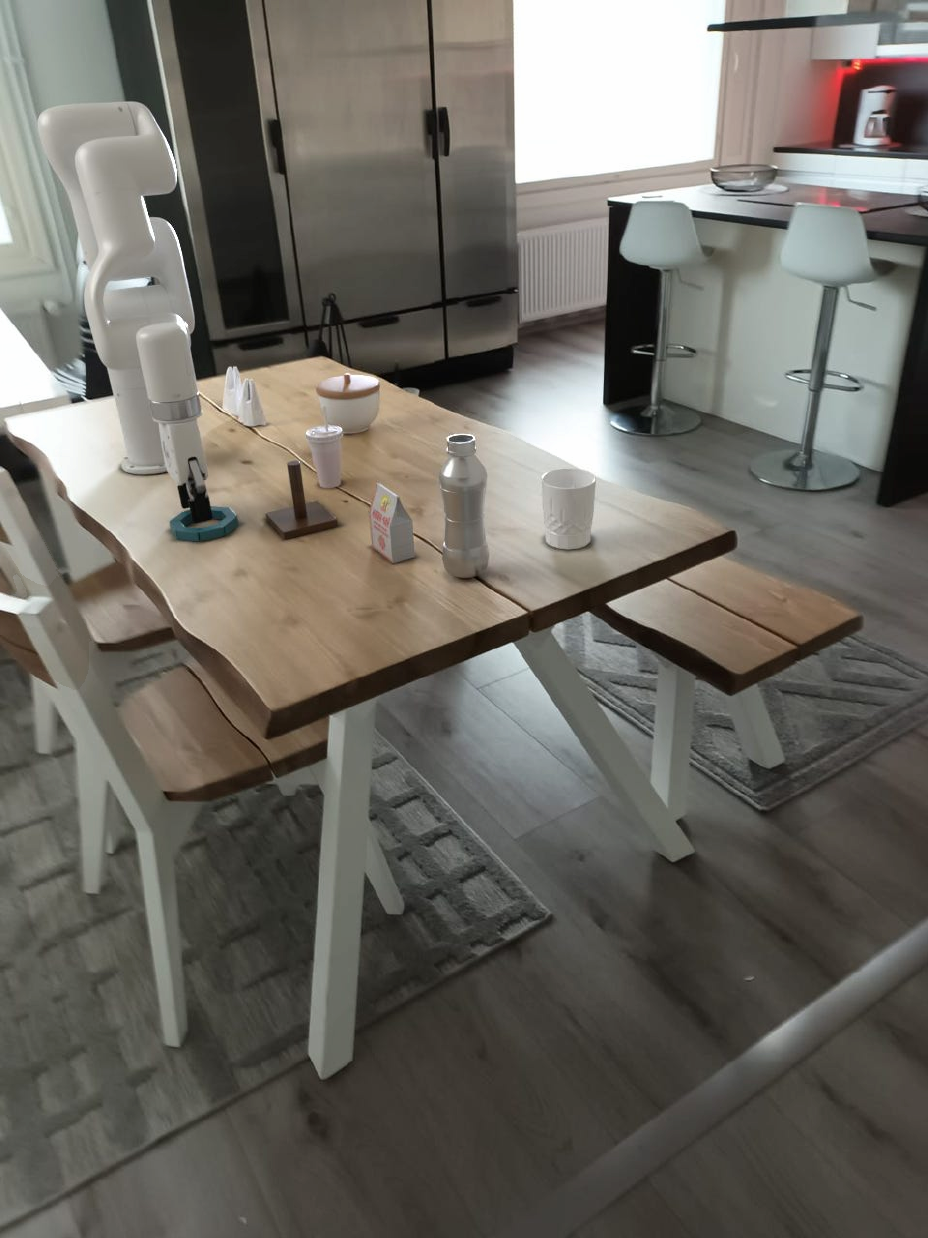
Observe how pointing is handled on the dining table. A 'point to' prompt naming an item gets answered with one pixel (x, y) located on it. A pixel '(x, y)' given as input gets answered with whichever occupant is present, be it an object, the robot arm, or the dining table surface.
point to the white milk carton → (390, 526)
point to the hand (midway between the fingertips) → (197, 512)
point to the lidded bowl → (350, 401)
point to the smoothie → (326, 452)
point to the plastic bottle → (464, 508)
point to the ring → (204, 533)
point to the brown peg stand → (300, 510)
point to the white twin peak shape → (242, 399)
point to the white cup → (568, 507)
